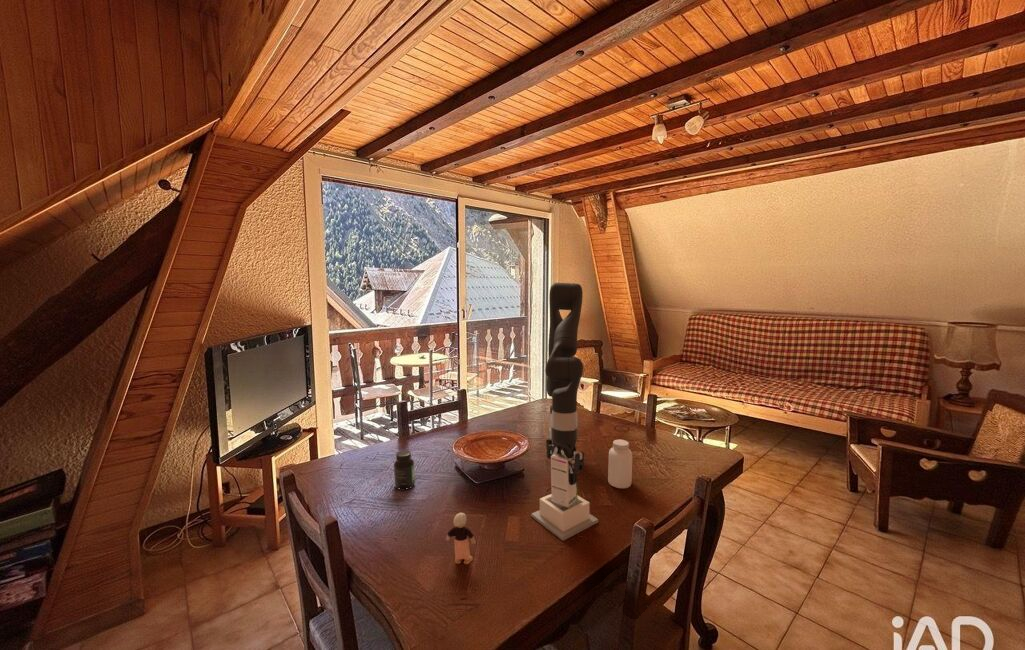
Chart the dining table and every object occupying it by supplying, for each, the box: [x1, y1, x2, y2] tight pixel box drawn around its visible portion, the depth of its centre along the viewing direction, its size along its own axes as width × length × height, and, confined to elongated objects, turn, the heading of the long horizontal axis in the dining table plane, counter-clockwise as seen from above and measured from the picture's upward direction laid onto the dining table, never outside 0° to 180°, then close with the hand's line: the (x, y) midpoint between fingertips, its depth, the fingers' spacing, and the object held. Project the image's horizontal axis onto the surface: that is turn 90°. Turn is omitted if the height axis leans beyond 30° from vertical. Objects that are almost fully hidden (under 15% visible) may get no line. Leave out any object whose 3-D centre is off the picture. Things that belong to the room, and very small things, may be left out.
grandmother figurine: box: [445, 512, 477, 565], centre depth 103 cm, size 8×4×13 cm, turn 92°
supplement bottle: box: [393, 449, 416, 489], centre depth 140 cm, size 7×7×12 cm
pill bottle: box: [607, 439, 633, 489], centre depth 140 cm, size 8×8×15 cm
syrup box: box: [550, 454, 578, 508], centre depth 119 cm, size 6×6×14 cm
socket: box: [530, 493, 599, 542], centre depth 120 cm, size 14×14×6 cm
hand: (564, 478), depth 119 cm, fingers closed on syrup box, 6 cm apart
